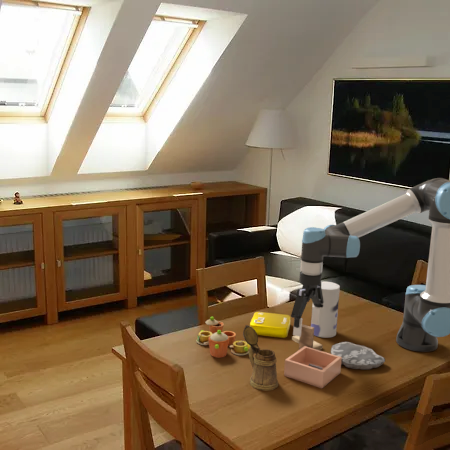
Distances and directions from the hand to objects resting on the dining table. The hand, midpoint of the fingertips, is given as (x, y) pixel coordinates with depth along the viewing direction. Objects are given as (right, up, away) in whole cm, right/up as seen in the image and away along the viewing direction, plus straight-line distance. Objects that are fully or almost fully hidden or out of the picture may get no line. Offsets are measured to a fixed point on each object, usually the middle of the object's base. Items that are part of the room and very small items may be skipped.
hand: (306, 329), depth 205 cm
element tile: (-11, -5, +28) cm, 30 cm away
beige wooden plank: (+2, -9, +14) cm, 17 cm away
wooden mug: (-18, -14, -16) cm, 28 cm away
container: (+10, -6, +25) cm, 28 cm away
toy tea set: (-31, -8, +11) cm, 34 cm away
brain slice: (+17, -12, +1) cm, 21 cm away
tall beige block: (0, -11, +2) cm, 11 cm away
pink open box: (+1, -13, -10) cm, 17 cm away
